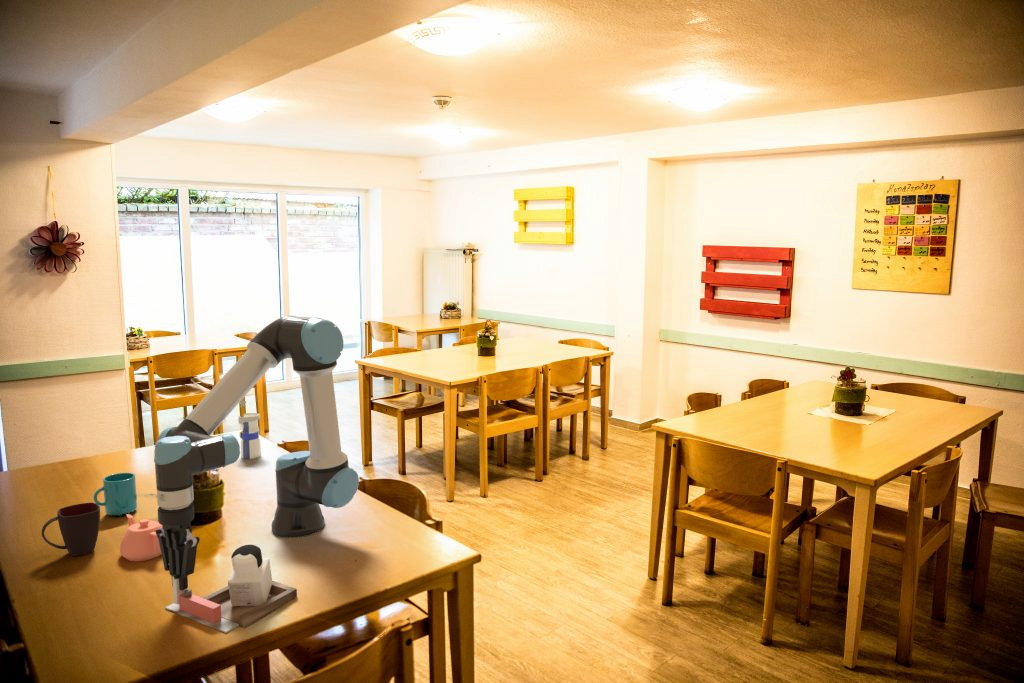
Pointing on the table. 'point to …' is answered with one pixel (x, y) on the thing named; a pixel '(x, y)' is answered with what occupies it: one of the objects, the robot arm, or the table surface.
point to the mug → (77, 527)
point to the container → (249, 577)
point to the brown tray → (242, 608)
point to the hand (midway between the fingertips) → (180, 601)
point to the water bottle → (249, 435)
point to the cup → (118, 494)
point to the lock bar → (199, 607)
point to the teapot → (140, 540)
